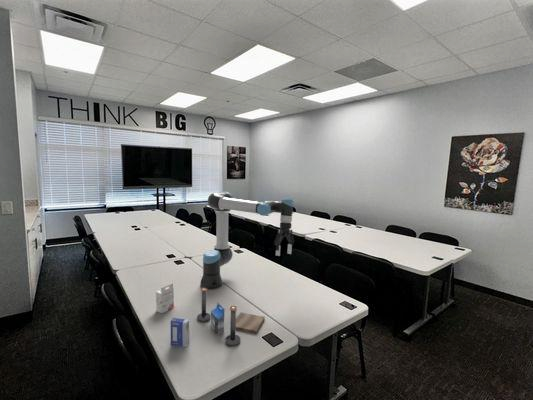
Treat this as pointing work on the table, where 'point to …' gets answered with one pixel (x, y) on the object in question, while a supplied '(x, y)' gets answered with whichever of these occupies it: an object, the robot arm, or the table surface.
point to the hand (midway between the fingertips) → (283, 254)
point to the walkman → (179, 332)
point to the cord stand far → (203, 308)
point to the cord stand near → (232, 329)
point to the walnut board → (249, 322)
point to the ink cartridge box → (165, 299)
